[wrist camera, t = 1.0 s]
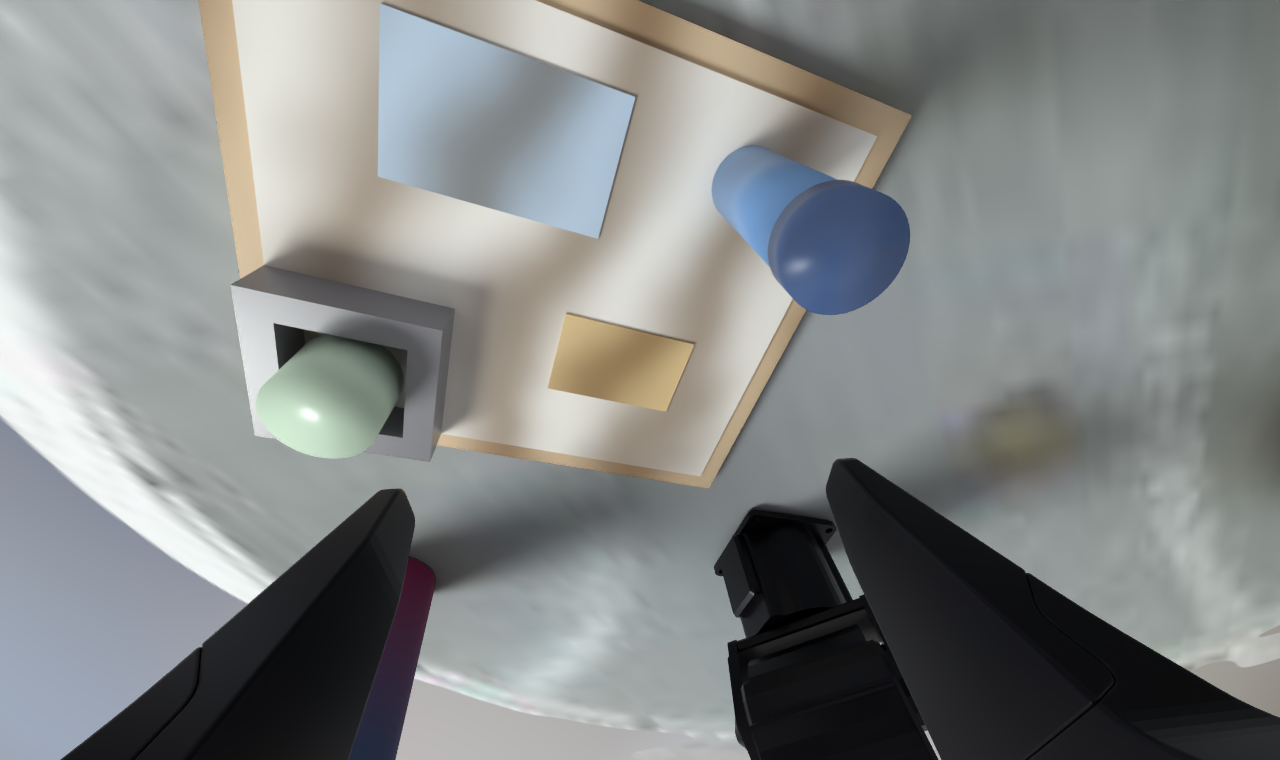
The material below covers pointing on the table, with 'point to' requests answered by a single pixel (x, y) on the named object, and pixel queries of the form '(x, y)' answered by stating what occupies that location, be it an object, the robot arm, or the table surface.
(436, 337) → the button housing
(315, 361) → the button
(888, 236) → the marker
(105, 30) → the table surface
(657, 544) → the table surface
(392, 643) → the cup
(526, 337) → the beige flat board
